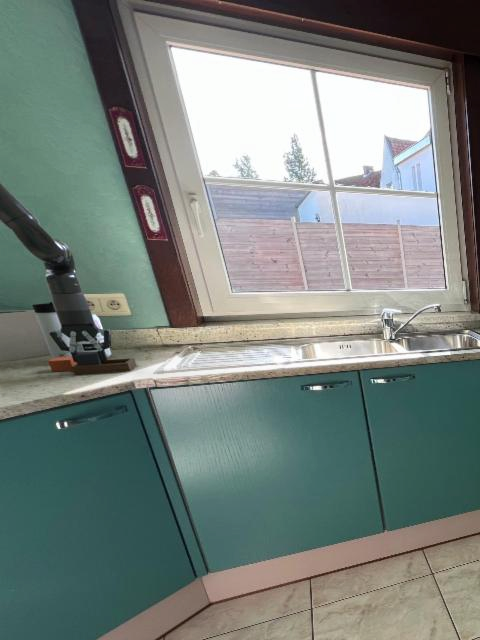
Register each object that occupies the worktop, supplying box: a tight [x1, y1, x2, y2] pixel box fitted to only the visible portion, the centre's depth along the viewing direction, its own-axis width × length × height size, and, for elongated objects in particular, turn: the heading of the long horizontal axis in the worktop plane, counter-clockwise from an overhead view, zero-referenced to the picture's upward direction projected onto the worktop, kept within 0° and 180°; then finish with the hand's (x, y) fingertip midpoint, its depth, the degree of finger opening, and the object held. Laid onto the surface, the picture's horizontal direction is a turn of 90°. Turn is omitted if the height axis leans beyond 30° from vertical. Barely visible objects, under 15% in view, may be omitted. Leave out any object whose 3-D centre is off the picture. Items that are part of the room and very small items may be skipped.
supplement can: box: [77, 312, 112, 358], centre depth 173 cm, size 8×8×15 cm
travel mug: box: [31, 301, 72, 359], centre depth 165 cm, size 6×7×20 cm
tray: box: [72, 357, 137, 376], centre depth 159 cm, size 13×9×3 cm
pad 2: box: [75, 351, 103, 366], centre depth 157 cm, size 5×6×4 cm
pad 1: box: [47, 357, 77, 373], centre depth 158 cm, size 5×6×4 cm
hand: (91, 362), depth 157 cm, fingers closed on pad 2, 5 cm apart
